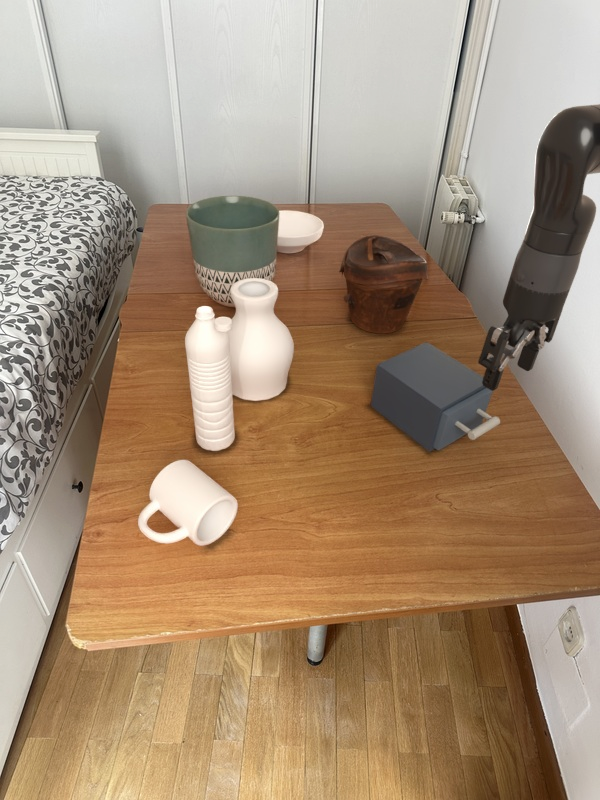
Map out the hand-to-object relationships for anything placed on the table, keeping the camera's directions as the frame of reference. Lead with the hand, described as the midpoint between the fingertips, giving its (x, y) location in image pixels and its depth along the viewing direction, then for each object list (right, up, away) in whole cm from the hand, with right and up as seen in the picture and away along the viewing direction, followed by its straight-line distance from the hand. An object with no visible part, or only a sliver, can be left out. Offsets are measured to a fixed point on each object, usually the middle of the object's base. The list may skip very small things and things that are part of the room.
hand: (507, 377), depth 80 cm
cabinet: (-8, -6, +18) cm, 21 cm away
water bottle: (-44, -11, +11) cm, 47 cm away
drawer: (-6, -7, +15) cm, 18 cm away
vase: (-39, 0, +24) cm, 46 cm away
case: (-13, +15, +44) cm, 49 cm away
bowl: (-34, +40, +73) cm, 90 cm away
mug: (-47, -22, -3) cm, 52 cm away
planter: (-46, +20, +48) cm, 70 cm away
